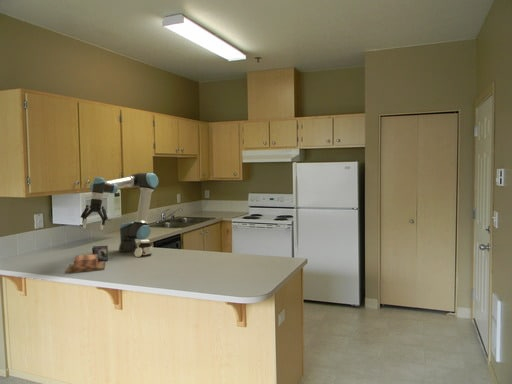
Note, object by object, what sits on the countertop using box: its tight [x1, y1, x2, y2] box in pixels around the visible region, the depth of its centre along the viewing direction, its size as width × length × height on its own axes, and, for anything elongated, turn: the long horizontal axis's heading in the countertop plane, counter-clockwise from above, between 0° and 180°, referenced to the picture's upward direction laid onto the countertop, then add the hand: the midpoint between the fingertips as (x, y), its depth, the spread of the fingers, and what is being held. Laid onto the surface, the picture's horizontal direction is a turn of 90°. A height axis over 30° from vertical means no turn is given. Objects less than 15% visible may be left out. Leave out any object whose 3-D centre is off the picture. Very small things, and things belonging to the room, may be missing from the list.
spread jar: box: [134, 239, 153, 258], centre depth 323 cm, size 12×11×12 cm
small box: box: [91, 245, 109, 262], centre depth 310 cm, size 11×6×10 cm, turn 105°
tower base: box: [65, 254, 107, 274], centre depth 289 cm, size 24×19×8 cm
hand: (92, 228), depth 296 cm, fingers open, 13 cm apart
